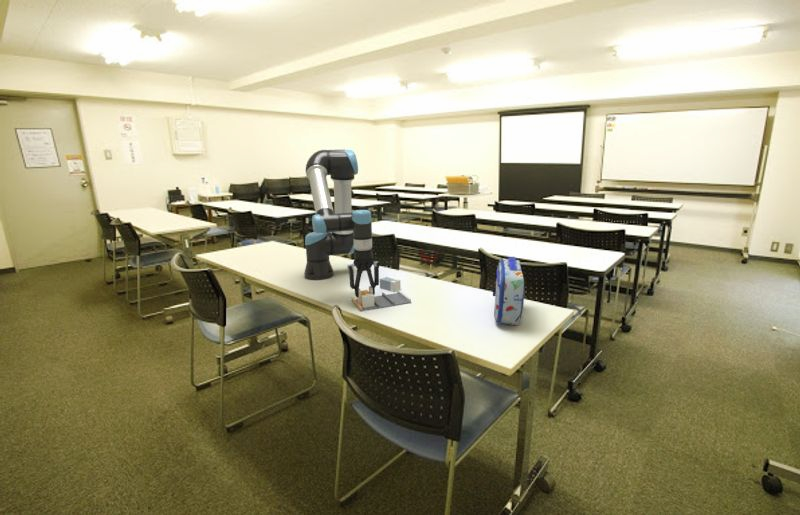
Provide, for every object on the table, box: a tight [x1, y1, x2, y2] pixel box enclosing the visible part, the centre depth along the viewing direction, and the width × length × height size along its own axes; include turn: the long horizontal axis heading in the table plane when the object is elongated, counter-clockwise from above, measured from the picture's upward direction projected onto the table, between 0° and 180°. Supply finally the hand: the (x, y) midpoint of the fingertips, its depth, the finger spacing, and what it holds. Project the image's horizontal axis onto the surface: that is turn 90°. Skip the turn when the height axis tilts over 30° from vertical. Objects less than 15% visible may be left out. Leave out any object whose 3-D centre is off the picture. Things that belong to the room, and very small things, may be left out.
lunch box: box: [492, 256, 525, 326], centre depth 146 cm, size 28×10×22 cm, turn 168°
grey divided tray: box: [350, 290, 412, 312], centre depth 165 cm, size 13×22×2 cm, turn 113°
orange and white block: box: [357, 289, 375, 308], centre depth 161 cm, size 9×5×5 cm, turn 23°
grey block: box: [379, 276, 402, 293], centre depth 181 cm, size 9×5×5 cm, turn 48°
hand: (365, 302), depth 162 cm, fingers closed on orange and white block, 4 cm apart
